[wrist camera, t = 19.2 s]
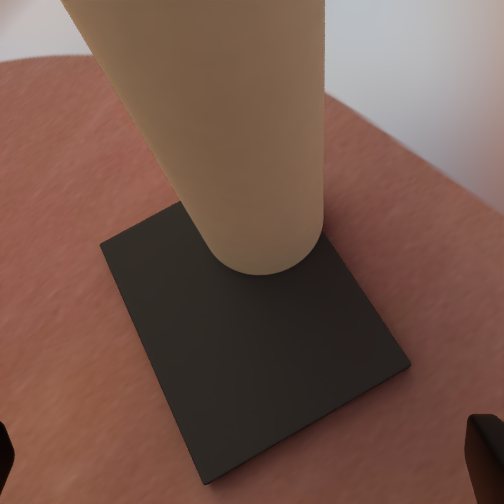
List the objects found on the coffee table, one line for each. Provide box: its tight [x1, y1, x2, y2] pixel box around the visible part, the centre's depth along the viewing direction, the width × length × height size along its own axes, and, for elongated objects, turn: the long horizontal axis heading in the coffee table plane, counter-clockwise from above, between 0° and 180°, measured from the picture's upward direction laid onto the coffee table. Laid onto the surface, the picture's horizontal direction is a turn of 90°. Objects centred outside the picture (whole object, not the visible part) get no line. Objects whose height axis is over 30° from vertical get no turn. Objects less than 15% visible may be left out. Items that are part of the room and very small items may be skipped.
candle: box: [61, 0, 325, 275], centre depth 13 cm, size 5×5×13 cm
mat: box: [100, 201, 411, 485], centre depth 18 cm, size 10×8×1 cm
